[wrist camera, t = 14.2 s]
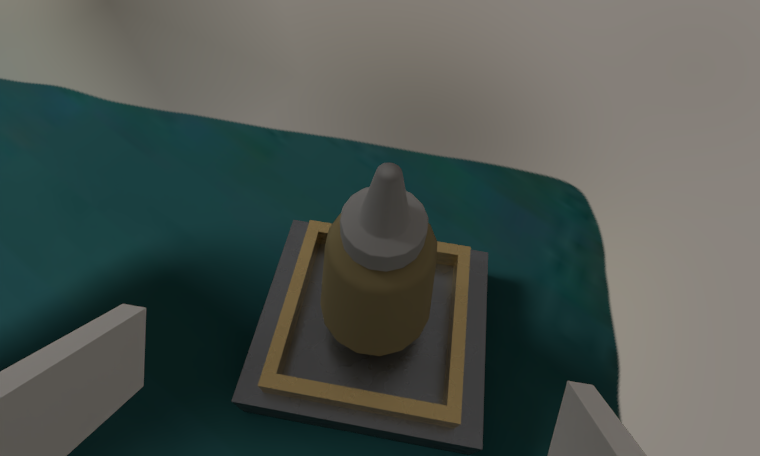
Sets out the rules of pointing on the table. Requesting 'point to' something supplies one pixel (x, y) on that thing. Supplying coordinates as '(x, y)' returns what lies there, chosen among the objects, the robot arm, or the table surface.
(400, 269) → the squeeze bottle
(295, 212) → the table surface
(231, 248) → the table surface
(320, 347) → the square gold-rimmed tray
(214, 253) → the table surface
